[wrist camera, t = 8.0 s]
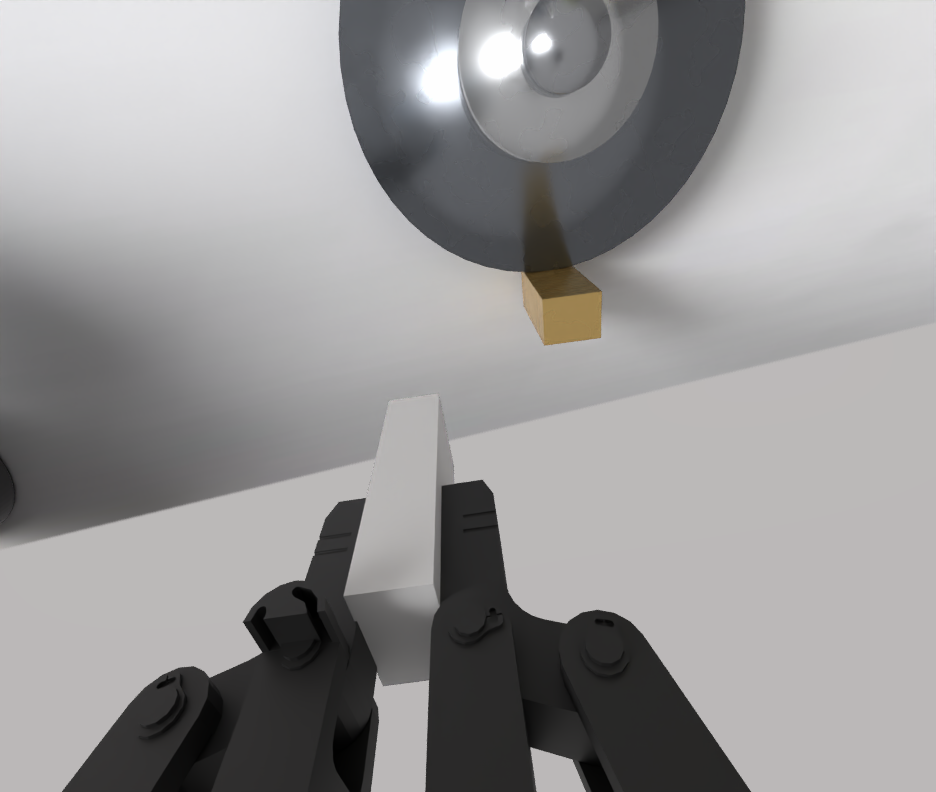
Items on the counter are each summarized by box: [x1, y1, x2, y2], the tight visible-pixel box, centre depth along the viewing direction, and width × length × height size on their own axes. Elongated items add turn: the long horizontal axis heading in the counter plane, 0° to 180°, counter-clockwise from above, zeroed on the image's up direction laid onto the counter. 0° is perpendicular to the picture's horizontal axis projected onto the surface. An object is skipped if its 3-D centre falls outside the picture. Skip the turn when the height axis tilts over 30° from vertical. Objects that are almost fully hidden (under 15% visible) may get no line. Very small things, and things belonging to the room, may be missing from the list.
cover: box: [456, 0, 658, 163], centre depth 19 cm, size 8×8×7 cm
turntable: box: [339, 0, 745, 345], centre depth 21 cm, size 20×22×7 cm
